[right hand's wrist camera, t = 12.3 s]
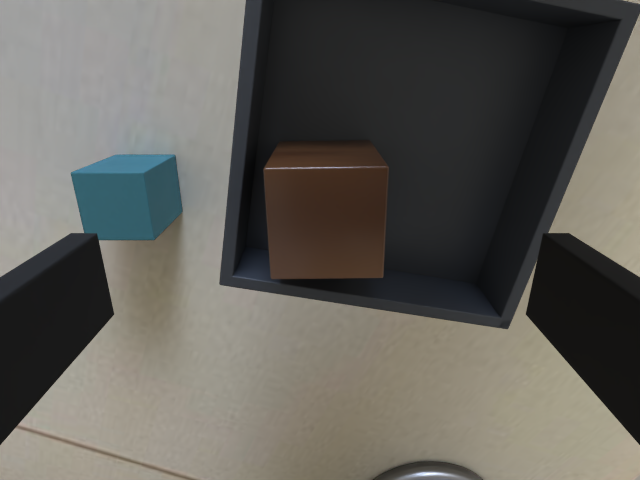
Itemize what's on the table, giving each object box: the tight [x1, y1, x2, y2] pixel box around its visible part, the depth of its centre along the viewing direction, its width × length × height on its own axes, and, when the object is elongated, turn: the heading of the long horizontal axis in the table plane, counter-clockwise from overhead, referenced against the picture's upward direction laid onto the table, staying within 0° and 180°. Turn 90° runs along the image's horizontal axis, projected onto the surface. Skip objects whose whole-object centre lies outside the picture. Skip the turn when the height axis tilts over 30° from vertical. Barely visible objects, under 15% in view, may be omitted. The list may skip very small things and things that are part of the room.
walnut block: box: [263, 140, 389, 279], centre depth 18 cm, size 4×4×6 cm
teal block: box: [71, 155, 182, 240], centre depth 29 cm, size 4×4×6 cm
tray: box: [220, 0, 640, 329], centre depth 17 cm, size 24×14×5 cm, turn 170°
